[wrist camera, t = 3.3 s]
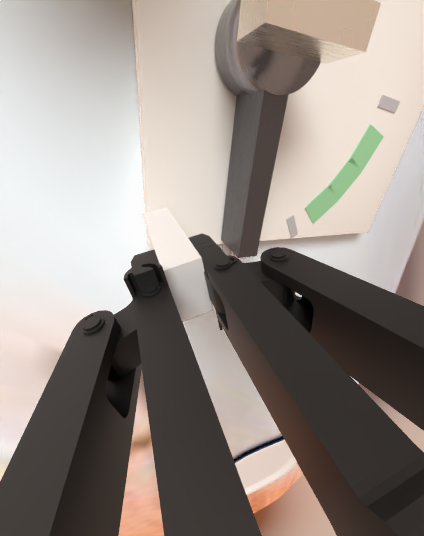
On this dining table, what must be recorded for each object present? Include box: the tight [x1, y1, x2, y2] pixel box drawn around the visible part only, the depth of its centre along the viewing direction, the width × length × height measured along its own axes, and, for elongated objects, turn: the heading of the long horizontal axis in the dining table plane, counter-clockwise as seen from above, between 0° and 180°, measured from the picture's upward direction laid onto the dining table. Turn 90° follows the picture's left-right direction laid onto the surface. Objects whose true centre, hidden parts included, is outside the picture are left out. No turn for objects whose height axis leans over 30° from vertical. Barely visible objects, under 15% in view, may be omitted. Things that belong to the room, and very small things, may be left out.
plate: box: [234, 438, 297, 495], centre depth 54 cm, size 25×25×2 cm
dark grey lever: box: [215, 0, 381, 258], centre depth 13 cm, size 13×5×5 cm, turn 175°
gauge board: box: [132, 0, 424, 255], centre depth 17 cm, size 18×22×2 cm
